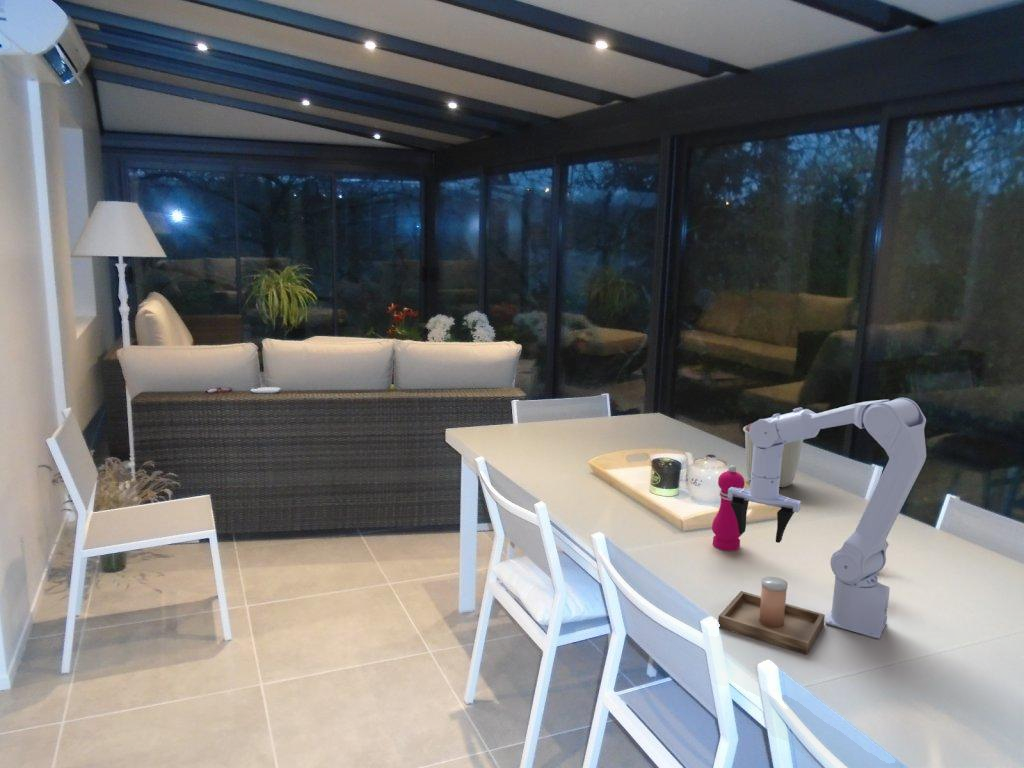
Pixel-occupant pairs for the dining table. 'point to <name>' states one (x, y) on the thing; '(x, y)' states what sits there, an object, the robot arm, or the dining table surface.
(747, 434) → the canister
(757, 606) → the walnut tray
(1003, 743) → the dining table surface
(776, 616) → the terracotta shaker
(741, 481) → the pepper mill
